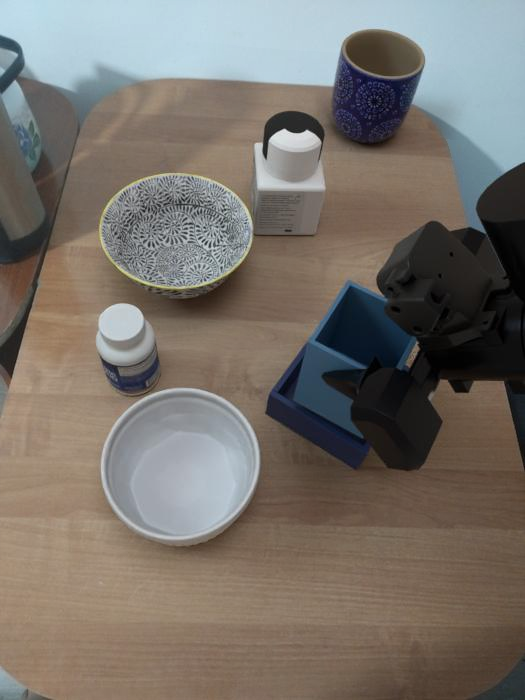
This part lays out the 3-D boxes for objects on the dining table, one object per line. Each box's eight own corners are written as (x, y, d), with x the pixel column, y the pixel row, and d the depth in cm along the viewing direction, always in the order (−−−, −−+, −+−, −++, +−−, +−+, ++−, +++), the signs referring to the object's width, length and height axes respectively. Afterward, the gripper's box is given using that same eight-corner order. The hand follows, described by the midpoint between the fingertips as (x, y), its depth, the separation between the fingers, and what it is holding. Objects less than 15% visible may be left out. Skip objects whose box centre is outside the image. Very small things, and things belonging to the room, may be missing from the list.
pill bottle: (102, 359, 58) (83, 304, 50) (153, 345, 59) (143, 290, 51) (114, 404, 56) (96, 354, 47) (167, 388, 57) (159, 338, 48)
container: (250, 190, 72) (257, 100, 61) (309, 191, 73) (327, 102, 62) (253, 235, 68) (261, 148, 57) (315, 236, 69) (335, 150, 58)
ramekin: (106, 431, 54) (92, 400, 48) (239, 406, 56) (242, 374, 50) (121, 573, 48) (107, 558, 42) (270, 539, 50) (278, 519, 44)
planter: (315, 108, 82) (328, 32, 72) (382, 99, 84) (404, 24, 75) (342, 158, 77) (360, 83, 67) (413, 147, 79) (441, 73, 69)
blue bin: (394, 379, 52) (428, 318, 43) (362, 439, 49) (393, 386, 40) (327, 344, 53) (348, 279, 45) (292, 400, 50) (307, 341, 42)
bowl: (275, 261, 67) (282, 215, 60) (194, 354, 59) (192, 314, 53) (169, 201, 70) (164, 152, 64) (80, 282, 63) (65, 236, 56)
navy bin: (402, 391, 59) (416, 370, 55) (356, 470, 54) (367, 454, 50) (317, 341, 61) (324, 318, 57) (265, 413, 56) (268, 393, 52)
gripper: (538, 137, 35) (345, 197, 47) (430, 355, 26) (225, 361, 38) (590, 272, 40) (404, 295, 52) (515, 492, 31) (311, 460, 43)
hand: (344, 345), depth 46 cm, fingers closed on blue bin, 7 cm apart
